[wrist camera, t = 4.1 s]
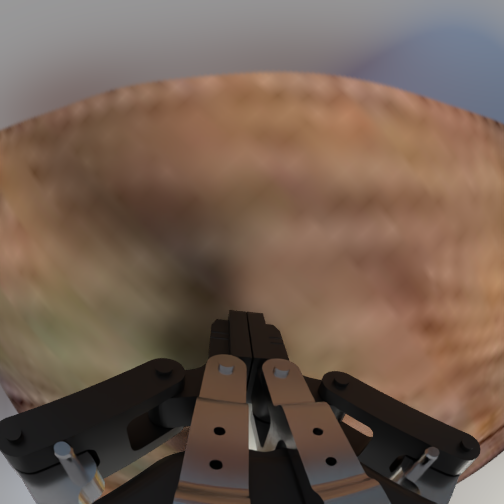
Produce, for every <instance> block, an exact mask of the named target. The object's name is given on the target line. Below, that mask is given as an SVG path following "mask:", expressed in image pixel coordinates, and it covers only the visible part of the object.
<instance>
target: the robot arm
mask: <svg viewBox="0 0 504 504" xmlns="http://www.w3.org/2000/svg"><path fill="white" fill-rule="evenodd" d="M247 403H251V404H252V411H251V415H250V420H251V425H252V429H253V434H254V439H255V443H256V447H257V451H256V450H251V449H249V405H248V404H247ZM345 414H347V415H349V416H351V417H353V418H354V419H356V420H358V421H359V422H361V423H363V424H365V425H366V426H368V427H370V428H371V430H372V431H373V437H368V436H366V435H364V434H362V433H361V432H359V431H357V430H356V429H354V428H352V427H350V426H349V425H347V424H346V423H344V422H342V420H343V418H344V416H345ZM185 426H191V427H190V431H189V436H188V441H187V445H186V450H185V451H184V452H179V453H175V454H172V455H169V456H167V457H164V458H162V459H161V460H159V461H157V462H156V463H154V464H153V465H151V466H150V467H148V468H147V469H145V470H144V471H143V472H141V473H140V474H138V475H137V476H135V477H134V478H132V479H131V480H129V481H128V482H126V483H124V484H123V485H121V486H120V487H118V488H117V489H115V490H113V491H112V492H110V493H108V494H107V495H105V496H103V497H102V498H100V499H98V500H97V501H95V502H94V500H96V499H97V498H98V497H99V496H101V494H102V493H103V491H104V488H105V483H104V478H106V477H108V476H110V475H111V474H113V473H115V472H117V471H119V470H120V469H122V468H124V467H126V466H127V465H129V464H131V463H132V462H134V461H136V460H137V459H139V458H141V457H142V456H144V455H146V454H147V453H149V452H151V451H152V450H154V449H155V448H157V447H158V446H160V445H161V444H163V443H165V442H166V441H168V440H169V439H171V438H172V437H174V436H175V435H177V434H178V433H179V432H181V430H182V429H183V427H185ZM0 451H1V452H2V453H3V455H4V456H5V458H6V459H7V460H8V462H9V464H10V465H11V467H12V468H13V469H14V470H15V471H16V473H17V474H18V475H19V476H20V477H21V478H22V480H23V482H24V483H25V485H26V487H27V489H28V490H29V492H30V494H31V495H32V497H33V499H34V500H35V502H36V503H37V504H448V503H449V501H450V498H451V496H452V493H453V491H454V488H455V485H456V483H457V480H458V477H459V476H460V475H461V474H462V473H463V472H464V471H465V470H466V469H467V468H468V467H469V466H470V465H471V463H472V462H473V461H474V460H475V459H476V458H477V457H478V456H479V454H480V445H479V443H478V441H477V440H476V439H475V438H474V437H473V436H471V435H469V434H467V433H465V432H462V431H460V430H458V429H456V428H454V427H451V426H449V425H447V424H445V423H443V422H440V421H438V420H436V419H434V418H432V417H430V416H428V415H426V414H424V413H422V412H419V411H417V410H415V409H413V408H411V407H409V406H407V405H405V404H403V403H401V402H399V401H397V400H396V399H394V398H392V397H390V396H388V395H386V394H384V393H382V392H380V391H378V390H376V389H375V388H373V387H371V386H369V385H367V384H365V383H363V382H362V381H360V380H358V379H356V378H354V377H352V376H351V375H349V374H346V373H344V372H339V371H332V372H328V373H326V374H325V375H324V376H323V378H322V380H318V379H314V378H309V377H306V376H303V375H302V373H301V371H300V369H299V367H298V366H297V365H295V364H294V363H292V362H290V361H289V358H288V355H287V352H286V349H285V346H284V343H283V340H282V337H281V334H280V331H279V330H278V329H277V328H276V327H275V326H274V325H269V324H265V320H264V316H263V313H253V312H243V311H234V310H229V316H228V320H220V319H217V320H216V321H215V322H214V323H213V324H212V327H211V336H210V345H209V355H208V361H207V363H206V364H205V365H204V366H202V367H200V368H197V369H192V370H184V368H183V366H182V365H181V364H180V363H178V362H176V361H174V360H171V359H166V358H158V359H153V360H151V361H148V362H146V363H144V364H142V365H140V366H137V367H135V368H133V369H131V370H128V371H126V372H124V373H122V374H119V375H117V376H115V377H112V378H110V379H108V380H105V381H103V382H101V383H98V384H96V385H93V386H91V387H88V388H86V389H84V390H81V391H79V392H76V393H74V394H71V395H68V396H66V397H63V398H61V399H58V400H55V401H53V402H50V403H48V404H45V405H42V406H39V407H37V408H34V409H31V410H28V411H25V412H22V413H20V414H17V415H14V416H11V417H8V418H5V419H3V420H1V421H0Z"/></svg>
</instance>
